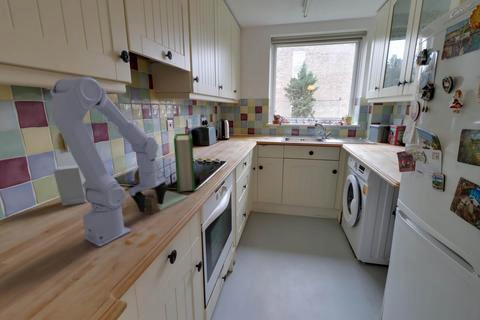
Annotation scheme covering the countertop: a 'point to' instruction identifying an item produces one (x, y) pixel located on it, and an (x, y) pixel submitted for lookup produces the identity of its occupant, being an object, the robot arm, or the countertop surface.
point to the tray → (171, 199)
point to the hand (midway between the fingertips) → (151, 207)
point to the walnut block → (151, 204)
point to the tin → (137, 177)
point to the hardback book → (184, 162)
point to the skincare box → (70, 184)
